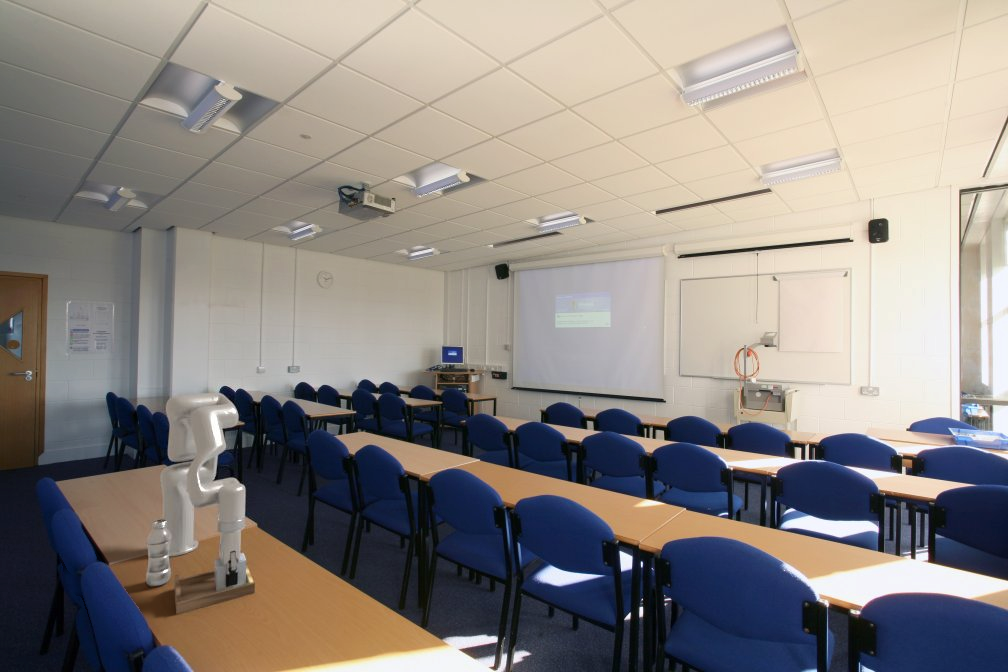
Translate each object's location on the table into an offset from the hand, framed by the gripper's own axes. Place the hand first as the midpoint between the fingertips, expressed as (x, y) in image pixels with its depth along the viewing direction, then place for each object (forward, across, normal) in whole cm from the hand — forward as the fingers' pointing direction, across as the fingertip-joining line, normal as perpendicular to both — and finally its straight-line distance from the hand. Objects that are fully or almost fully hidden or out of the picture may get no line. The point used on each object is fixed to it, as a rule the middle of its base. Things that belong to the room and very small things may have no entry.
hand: (230, 580), depth 150 cm
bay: (+2, 0, -4) cm, 5 cm away
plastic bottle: (+2, -15, -18) cm, 24 cm away
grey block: (+1, 0, 0) cm, 1 cm away
